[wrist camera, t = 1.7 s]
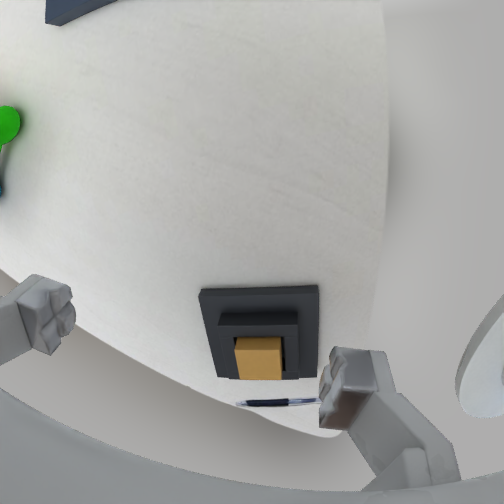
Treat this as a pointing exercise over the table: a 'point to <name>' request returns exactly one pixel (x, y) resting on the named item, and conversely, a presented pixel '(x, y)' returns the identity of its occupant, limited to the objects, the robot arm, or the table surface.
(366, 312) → the table surface
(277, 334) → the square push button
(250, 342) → the tan square block
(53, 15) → the push button box
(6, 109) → the molecular model
